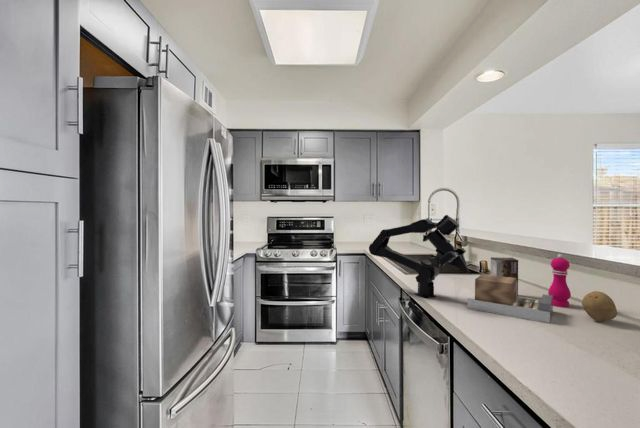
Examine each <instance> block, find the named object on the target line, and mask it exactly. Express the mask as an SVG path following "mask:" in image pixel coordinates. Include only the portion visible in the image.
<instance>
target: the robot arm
mask: <svg viewBox="0 0 640 428" xmlns="http://www.w3.org/2000/svg"><path fill="white" fill-rule="evenodd" d="M459 227H460V224H459V223H458V222H457V221H456V220H455V219H453V218H452V217H451V216H450V215H448V214H445V215H444V216H443V217H442V219H441V220H440V221H439V222H434V221H432V220H431V219H429V218H423V219H422V218H421V219H418V220H416V221H414V222H411V223H410V224H406V225H401V226H397V227H391V228H385V229H382V230H380V232H379V234H378V235H377V236H376V238H374V240H373V241H372V242H371V243H370V244H369V246H368V250H369V254H370V255H372V256H376V257H380V258H387V259H388V260H390V261H393V262H396V263H398V264H400V265H402V266H404V267H407V268H409V269H411V270H414V271H415V273H417V275H416V276H415V279H416V282H417V292H414V295H416V296H419V297H421V298H425V299H426V298H431V297H432V298H434V297H437V294H436V293H435V286H434V284H435V283H434V281H435V279H436V278H437V276H439V275H440V268H442V267H443V266H445V265H446V263H448V262H449V263H448V264H447V266H454V267H456V268H458V269H459V270H460V271H462V272H463V273H465V274H469V273H470V270H469V267H468V264H467V261H466V259H465V256H464V254H465V253H466V252H467V250H466V249H465V248H464V247H455V246H454V245H453V244H451V242H452V241H451V240H450V239H447V238H446V237H445V236H450V235H451V234H452V233H454V231H456V230H457V229H458V228H459ZM433 229H434V231H433ZM419 233H420V234H424V233H426V234H424V235H422V238H423V239H422V242H427V241H429V243H430V244H432V246H433V247H434V248H435V252H436V255H435V256H434V257H433V256H432V257H430V259H429V260H428V259H424V260H421V261H420V260H417V259H414V258H413V257H410V256H408V255H405V254H403V253H401V252H398V251H396V250H393V249H392V248H391V247H390V246H389V245H388V244H389V242H390V239H391V237H396V236H401V235H406V234H419Z"/></svg>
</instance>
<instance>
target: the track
mask: <svg viewBox="0 0 640 428" xmlns="http://www.w3.org/2000/svg"><path fill="white" fill-rule="evenodd" d="M467 309H469V310H475V311H480V312H486V313H490V314H497V315H502V316H508V317H512V318H513V317H514V318H517V319H518V318H519V319H525V320H529V321H530V320H531V321H536V322H542V323H546V324H550V323H551V319H552V316H553V310H554V307H553V296H552V295H549V294H542V296H541V299H538V298H537V299H536V298H531V297H524V296H519V295H518V296H516V300H515V301H514V303H513V304H512V305H507V304H500V303H494V302H488V301H482V300H476V299H475V298H469V297H468V298H467Z"/></svg>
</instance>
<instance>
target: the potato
mask: <svg viewBox="0 0 640 428" xmlns="http://www.w3.org/2000/svg"><path fill="white" fill-rule="evenodd" d="M581 305H582V308H583V310H584V312H586V314H587V315H588V316H589V317H590V319H592V320H593V321H595V322H599V323H603V322H605V321H610V320H613V319H615V318H616V317H617V316H618V311H617V306H616V305H615V302H614V301H613V299H612V298H611V297H610V296H609V295H608V294H606V293H605V292H604V291H603V292H602V291H597V290H596V291H594V290H593V291H591V292H589V293H587V294H586V295H584V297H583V298H582V300H581Z"/></svg>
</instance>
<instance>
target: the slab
mask: <svg viewBox="0 0 640 428" xmlns="http://www.w3.org/2000/svg"><path fill="white" fill-rule="evenodd" d="M474 299H476V300H482V301H488V302H494V303H500V304H507V305H512V304H513V303H514V301H515V300H516V278H511V277H502V276H494V275H491V274H484V273H482V274H480V275H479V276H478V277H476V278H475V279H474Z"/></svg>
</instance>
